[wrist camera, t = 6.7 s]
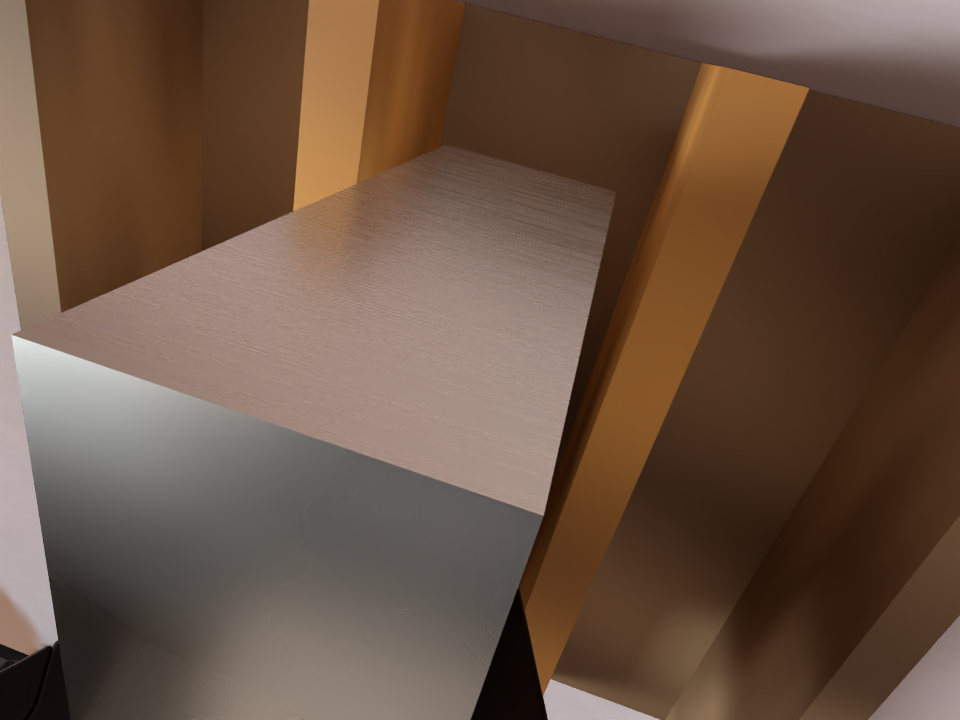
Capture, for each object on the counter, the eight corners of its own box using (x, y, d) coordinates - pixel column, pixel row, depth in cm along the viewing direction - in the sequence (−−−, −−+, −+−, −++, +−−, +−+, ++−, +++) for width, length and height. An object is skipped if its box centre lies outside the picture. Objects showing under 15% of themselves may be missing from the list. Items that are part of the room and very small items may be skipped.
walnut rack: (693, 695, 16) (708, 901, 12) (196, 515, 18) (69, 647, 14) (1039, 147, 10) (1312, 214, 6) (197, -64, 11) (-48, -127, 7)
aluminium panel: (466, 651, 13) (315, 1153, 7) (357, 611, 14) (124, 1061, 8) (615, 191, 9) (543, 516, 3) (445, 145, 9) (12, 335, 3)
